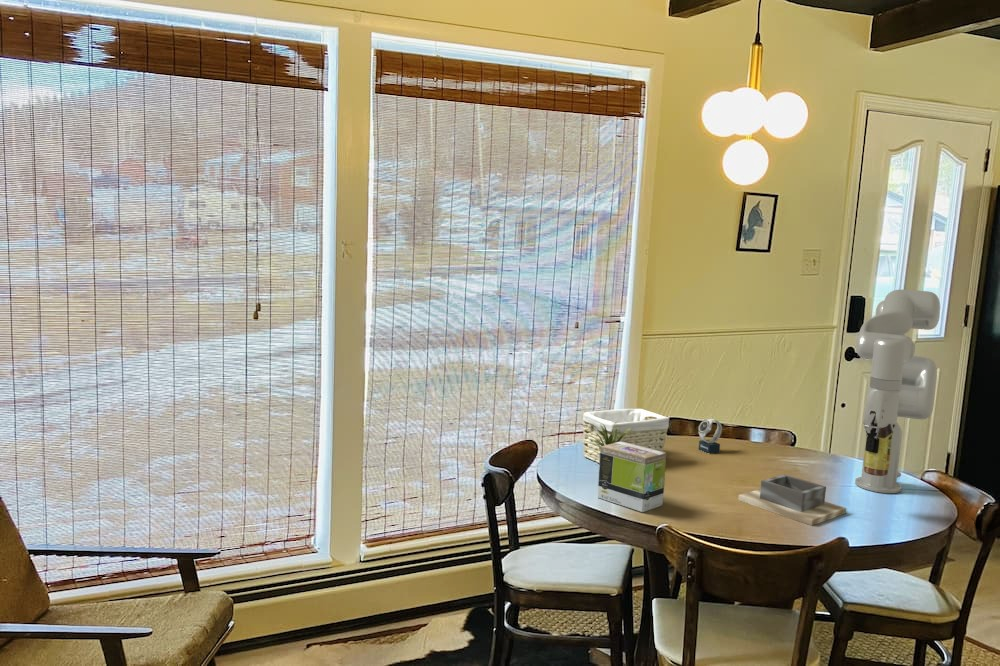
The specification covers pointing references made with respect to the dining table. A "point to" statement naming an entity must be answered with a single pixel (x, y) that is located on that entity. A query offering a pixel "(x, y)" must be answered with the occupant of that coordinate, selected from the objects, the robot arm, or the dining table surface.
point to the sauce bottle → (879, 454)
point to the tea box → (632, 476)
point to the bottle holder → (793, 499)
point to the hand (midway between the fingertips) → (878, 449)
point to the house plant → (610, 439)
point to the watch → (711, 445)
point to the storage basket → (624, 429)
